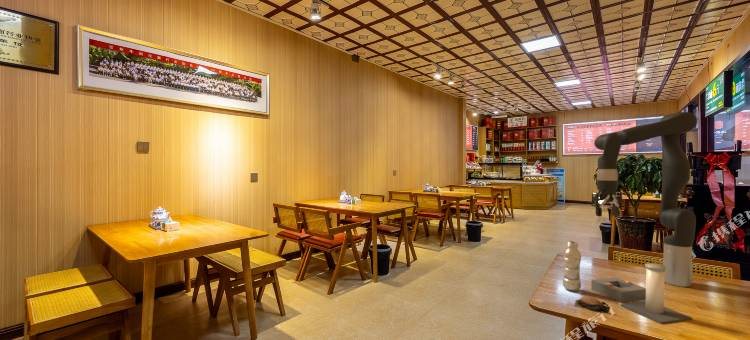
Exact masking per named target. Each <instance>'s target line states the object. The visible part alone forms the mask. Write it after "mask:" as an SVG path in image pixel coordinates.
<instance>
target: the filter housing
mask: <svg viewBox="0 0 750 340" xmlns="http://www.w3.org/2000/svg"><path fill="white" fill-rule="evenodd" d="M590 288H591V290H592V291H594V292H597V293H599V294H602V295H604V296H606V297H608V298H611V299H613V300H615V301H617V302H619V303H627V302H633V301H634V302H635V301H646V287H643V286H642V285H641V286H640V285H638V284H635V283H633V282H632V281H631V280H625V279H622V278H619V277H608V278H607V277H606V278H599V279H591V287H590Z"/></svg>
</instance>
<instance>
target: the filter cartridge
mask: <svg viewBox="0 0 750 340" xmlns="http://www.w3.org/2000/svg"><path fill="white" fill-rule="evenodd" d="M644 267H645V271H646V272H645V273H646V274H645V275H646V276H645V288H646V299H645V301H646V303H645V309H646V310H648V311H650V312H653V313H658V314H663V313H664V307H665V286H666V285H665V283H666V282H665V271H666V267H665V266H663V264H656V263H649V262H648V263H645V266H644Z"/></svg>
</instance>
